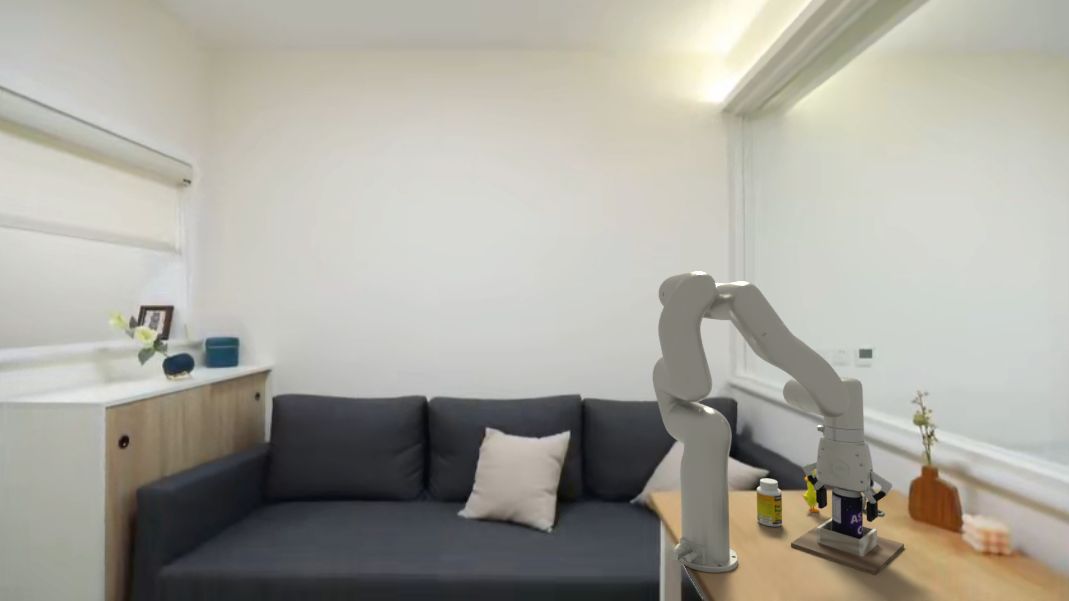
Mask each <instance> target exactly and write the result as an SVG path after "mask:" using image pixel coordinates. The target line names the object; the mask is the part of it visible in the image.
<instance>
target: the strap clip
mask: <svg viewBox="0 0 1069 601" xmlns="http://www.w3.org/2000/svg"><path fill="white" fill-rule="evenodd" d="M862 496H863V511H864V513H866V514H867V512H866V503H867V498H866V496H865V495H864V494H862ZM883 516H885V512H884V511H883V510H881V509H878V517H880V518H881V517H883Z"/></svg>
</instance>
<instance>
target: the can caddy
mask: <svg viewBox="0 0 1069 601" xmlns="http://www.w3.org/2000/svg"><path fill="white" fill-rule="evenodd" d="M790 547H792V548H794V549H796V550H800V551H803V552H806V553H810V554H812V555H814V556H818V557H821V558H823V557H824V558H823V559H826V558H827V559H826V560H829V559H830V561H832V560H833V561H832V562H836V563H838V564H842V565H845V566H848V567H850V568H853V569H856V570H859V571H862V572H865V573H869V574H870V575H874V576H877V575H878V573H880V571H881V570H882V569H883V568H885V567H886V566H887V565H888V564H889V563H890V562H891V561H892V560H893V559H894V558H895V557H897V555H898V554H899V553H900V552H901V551H903V549H905V543H902V542H899V541H895V540H892V539H889V538H885V537H881V536H878V529H876V528H874V527H871V526H866V525H863V537H862V538H861V539H857V538H854V537H851V536H847V535H844V534H840V533H837V532H834V531H832V517H831V518H829V519H828V520H826V521H823V522H821V523H820V524H818V525H817V526H815V527H813V528H812V529H810V530H809V531H807V532H806V533H804V534H802V535H801V536H799V537H797V538H796V539H794V540H793V541H792V542H791V543H790Z"/></svg>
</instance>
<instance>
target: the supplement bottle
mask: <svg viewBox="0 0 1069 601" xmlns="http://www.w3.org/2000/svg"><path fill="white" fill-rule="evenodd" d="M778 483H779V482H778V481H777V479H773V478H767V477H766V478H761V479H760V480H759V485H758V487H757V488H756V514H757V517H756V518H757V522H758V523H759V524H761V525H763V526H767V527H771V528H773V527H774V528H777V527H780V526H782V524H783V503H782V502H783V500H782V499H783V498H782V496H783V494H782V490H781V489H780V488H779V484H778Z"/></svg>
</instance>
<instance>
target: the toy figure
mask: <svg viewBox="0 0 1069 601" xmlns="http://www.w3.org/2000/svg"><path fill="white" fill-rule="evenodd" d="M809 464H810V463H806V465H809ZM806 465H805V466H806ZM813 474H814V475H815V476H816V477H817V475H816V469H814V470H813ZM804 481H805V482H806V485H807V490H806V491H805V493H804V494H801V495H802V497H803V499H804V500H805V502H806V503H807V505H808V506H809V509H808V511H810V512H811V513H814V514H815V513H817V514H818V513H820V509H819V508H816V506H817V505H818V503H817V502H816V489H814V487H813V485H812V484H811V482H810V481H809V480H808V478H807V476H806V475H805V477H804Z"/></svg>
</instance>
